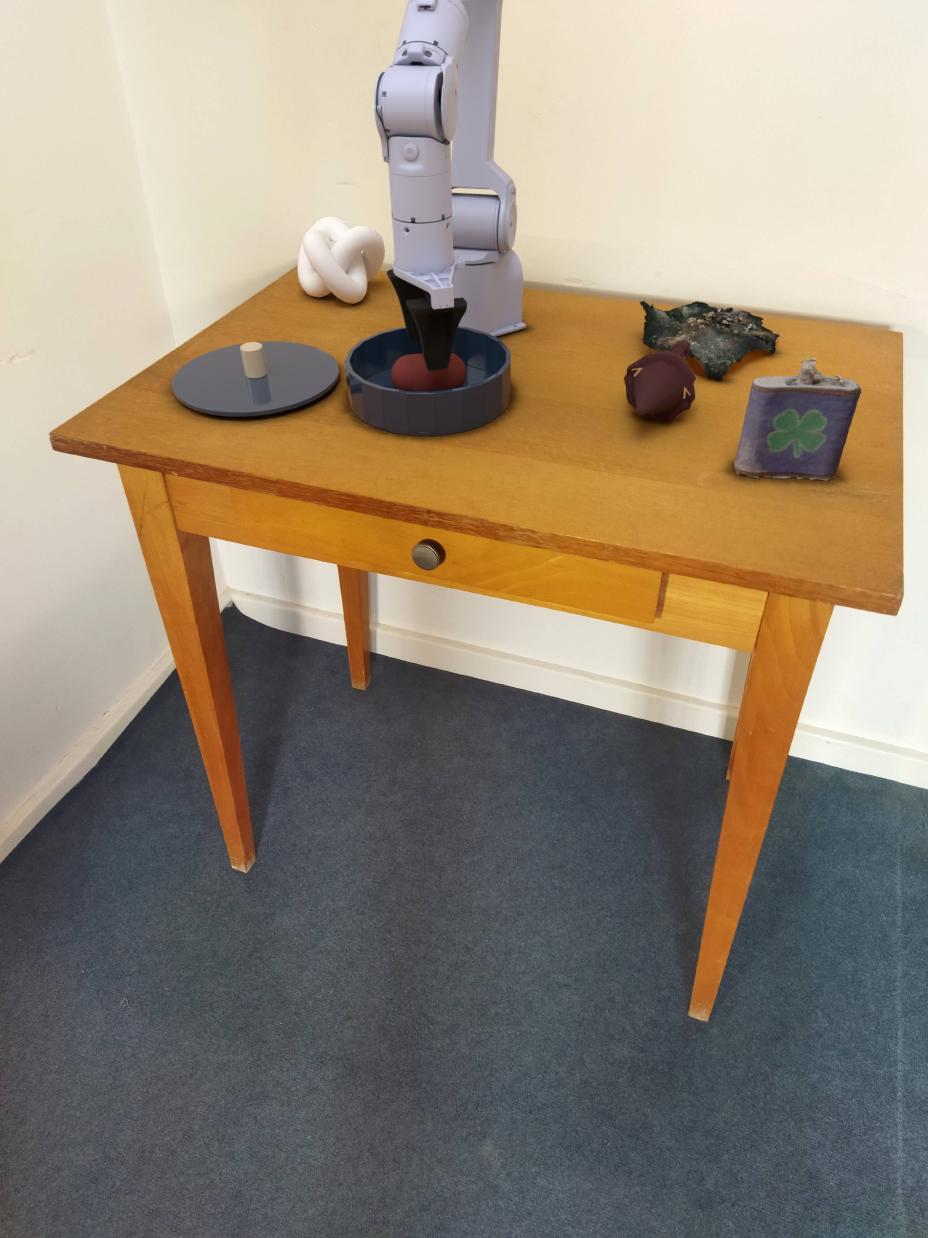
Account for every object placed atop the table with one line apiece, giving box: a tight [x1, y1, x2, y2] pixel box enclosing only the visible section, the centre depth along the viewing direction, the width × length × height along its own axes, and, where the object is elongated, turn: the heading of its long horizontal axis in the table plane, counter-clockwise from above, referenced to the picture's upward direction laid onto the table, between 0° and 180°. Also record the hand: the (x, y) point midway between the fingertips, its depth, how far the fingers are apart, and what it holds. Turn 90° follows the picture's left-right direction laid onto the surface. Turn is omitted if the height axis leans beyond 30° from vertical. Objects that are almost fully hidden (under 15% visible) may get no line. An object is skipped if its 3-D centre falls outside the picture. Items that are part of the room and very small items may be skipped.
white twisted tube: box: [296, 216, 386, 304], centre depth 116 cm, size 11×12×9 cm
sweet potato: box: [391, 353, 466, 391], centre depth 93 cm, size 4×8×4 cm, turn 98°
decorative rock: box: [639, 300, 780, 382], centre depth 102 cm, size 19×6×15 cm
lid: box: [171, 340, 340, 418], centre depth 97 cm, size 18×18×4 cm
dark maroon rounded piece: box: [623, 340, 697, 422], centre depth 88 cm, size 7×7×15 cm
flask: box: [733, 357, 862, 481], centre depth 78 cm, size 9×3×11 cm, turn 83°
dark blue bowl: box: [344, 326, 512, 437], centre depth 93 cm, size 17×17×5 cm
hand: (428, 353), depth 91 cm, fingers open, 7 cm apart
